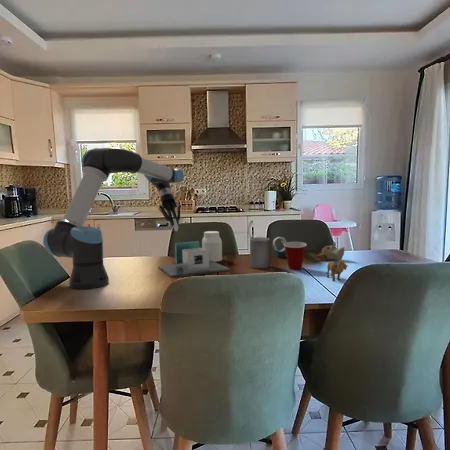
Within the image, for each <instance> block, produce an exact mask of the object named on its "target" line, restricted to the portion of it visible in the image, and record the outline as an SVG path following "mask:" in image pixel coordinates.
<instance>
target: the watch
mask: <svg viewBox="0 0 450 450" xmlns="http://www.w3.org/2000/svg"><path fill="white" fill-rule="evenodd" d="M278 239H280V242H281V244H282V245H283V248H282V249H280V250H279V249H278V247H277V246H276V241H278ZM284 243H287V240H286V238H284V236H283V237H281V236H277V237H275V238H274V239H273V240H272V247H273V249H274V252H273V253H274V257H275V258H277V259H284V258H283V257H286V258H287V255H286V250H285V247H284Z"/></svg>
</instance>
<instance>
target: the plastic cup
mask: <svg viewBox="0 0 450 450" xmlns="http://www.w3.org/2000/svg"><path fill="white" fill-rule="evenodd" d="M307 246H308V245H307V242H304V241H303V242H302V241H288V242H287V243H284V245H283V248H284V247H285V250H284V251H285V252H286V260H287V264H288V269H289V270H292V269H293V270H294V271H296V270H302V268H303V262H304V257H305V256H304V255H305V252H306V248H307Z"/></svg>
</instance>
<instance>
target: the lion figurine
mask: <svg viewBox="0 0 450 450" xmlns="http://www.w3.org/2000/svg"><path fill="white" fill-rule="evenodd" d="M326 269H327V270H326V272H325V274H326V278H330V276H332V277H331V278H332V280H331V281H332V282H336V280H337V281H341V274H342V273H343V272H344V271H346V270H347V269H348V264H346V263H345V261H344V260H343V259H342V260H336V261H332V260H330V261H329V262H328V263H327V268H326ZM336 275H337V278H336Z"/></svg>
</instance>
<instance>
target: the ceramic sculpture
mask: <svg viewBox="0 0 450 450" xmlns="http://www.w3.org/2000/svg"><path fill="white" fill-rule="evenodd" d="M345 250H346V249H345V247H340V248H339V247H336V246H335V245H334V244H332V243H330V244H329V245H326V246H324V247H323V248H322V249H321V252H319V254H316V255H313V258H316V259H318V260H326V259H327V260H326V261H332V260H336V261H338V260H343V257H344V254H345Z"/></svg>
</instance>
